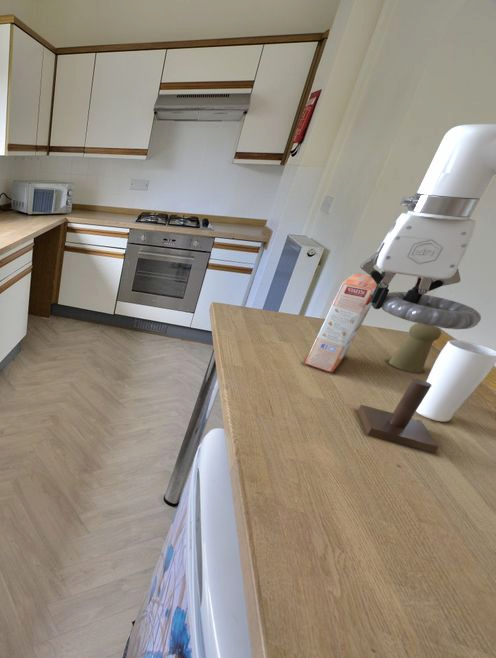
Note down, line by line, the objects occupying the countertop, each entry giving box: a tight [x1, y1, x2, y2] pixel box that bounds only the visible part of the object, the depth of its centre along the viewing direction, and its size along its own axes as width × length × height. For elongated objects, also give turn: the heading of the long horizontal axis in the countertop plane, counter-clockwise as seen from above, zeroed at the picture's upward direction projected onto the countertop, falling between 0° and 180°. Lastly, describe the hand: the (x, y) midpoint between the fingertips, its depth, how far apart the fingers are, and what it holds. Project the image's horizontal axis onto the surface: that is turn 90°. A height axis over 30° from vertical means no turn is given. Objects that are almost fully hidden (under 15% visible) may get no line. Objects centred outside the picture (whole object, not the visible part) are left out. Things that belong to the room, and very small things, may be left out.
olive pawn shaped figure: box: [388, 323, 442, 374], centre depth 98 cm, size 6×6×11 cm
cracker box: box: [304, 272, 377, 374], centre depth 96 cm, size 14×6×21 cm, turn 131°
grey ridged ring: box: [380, 291, 482, 330], centre depth 74 cm, size 13×13×3 cm
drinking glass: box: [415, 339, 496, 423], centre depth 78 cm, size 7×7×15 cm
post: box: [357, 378, 439, 454], centre depth 74 cm, size 9×9×10 cm
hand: (389, 308), depth 76 cm, fingers closed on grey ridged ring, 3 cm apart
